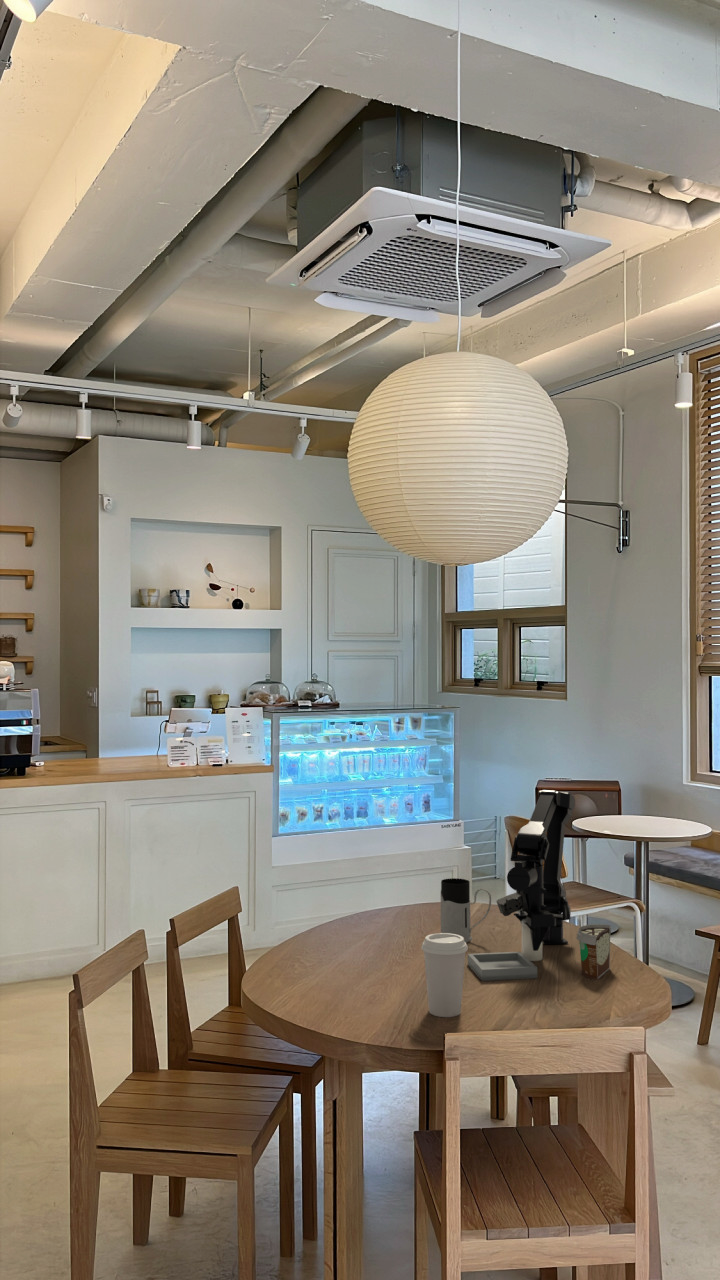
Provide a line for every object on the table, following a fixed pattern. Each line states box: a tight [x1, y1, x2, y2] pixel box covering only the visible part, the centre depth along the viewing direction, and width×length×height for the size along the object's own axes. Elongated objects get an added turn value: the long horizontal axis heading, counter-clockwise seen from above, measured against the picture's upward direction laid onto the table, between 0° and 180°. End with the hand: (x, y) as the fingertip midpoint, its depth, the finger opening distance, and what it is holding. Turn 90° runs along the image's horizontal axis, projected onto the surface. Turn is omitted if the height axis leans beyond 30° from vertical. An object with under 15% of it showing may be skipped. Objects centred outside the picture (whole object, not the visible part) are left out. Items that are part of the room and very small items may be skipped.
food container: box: [576, 923, 612, 980], centre depth 227 cm, size 12×6×10 cm, turn 149°
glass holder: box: [440, 878, 492, 943], centre depth 255 cm, size 9×14×15 cm, turn 64°
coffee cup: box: [421, 932, 469, 1018], centre depth 200 cm, size 10×10×15 cm
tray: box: [467, 951, 538, 982], centre depth 227 cm, size 13×13×2 cm
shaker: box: [521, 919, 543, 962], centre depth 238 cm, size 5×5×9 cm
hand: (532, 947), depth 238 cm, fingers closed on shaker, 5 cm apart
